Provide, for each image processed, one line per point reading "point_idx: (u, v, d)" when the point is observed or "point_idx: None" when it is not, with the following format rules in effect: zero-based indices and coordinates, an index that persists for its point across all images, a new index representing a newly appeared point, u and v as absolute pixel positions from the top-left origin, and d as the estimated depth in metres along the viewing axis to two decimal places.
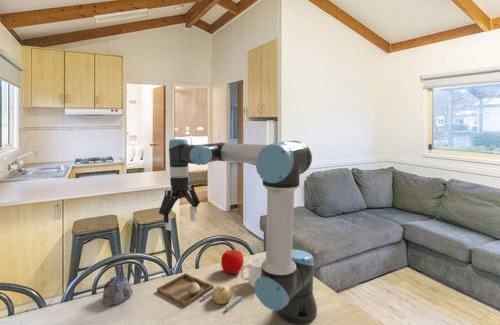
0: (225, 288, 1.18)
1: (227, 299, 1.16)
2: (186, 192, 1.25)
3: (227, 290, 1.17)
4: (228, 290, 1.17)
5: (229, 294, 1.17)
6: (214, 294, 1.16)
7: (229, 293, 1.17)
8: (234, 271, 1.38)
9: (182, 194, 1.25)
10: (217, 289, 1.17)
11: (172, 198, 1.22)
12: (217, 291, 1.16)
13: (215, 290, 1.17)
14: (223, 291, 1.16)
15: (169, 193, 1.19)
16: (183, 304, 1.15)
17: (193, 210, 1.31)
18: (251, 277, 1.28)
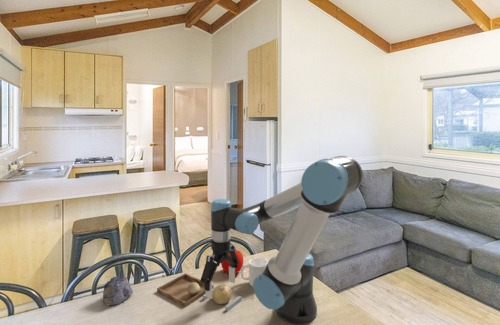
0: (225, 288, 1.18)
1: (227, 299, 1.16)
2: (227, 255, 1.17)
3: (227, 290, 1.17)
4: (228, 290, 1.17)
5: (229, 294, 1.17)
6: (214, 294, 1.16)
7: (229, 293, 1.17)
8: None
9: (223, 258, 1.16)
10: (217, 289, 1.17)
11: (213, 263, 1.14)
12: (217, 291, 1.16)
13: (215, 290, 1.17)
14: (223, 291, 1.16)
15: (211, 260, 1.11)
16: (183, 304, 1.15)
17: (232, 271, 1.23)
18: (251, 277, 1.28)
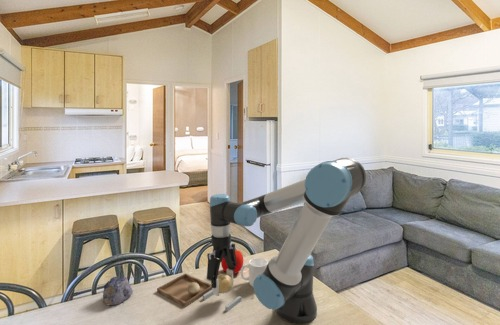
0: (226, 277, 1.17)
1: (228, 288, 1.15)
2: (228, 251, 1.16)
3: (228, 279, 1.16)
4: (229, 279, 1.16)
5: (230, 283, 1.16)
6: None
7: (230, 282, 1.16)
8: (234, 271, 1.38)
9: (224, 253, 1.16)
10: (218, 278, 1.16)
11: (216, 260, 1.14)
12: None
13: None
14: (224, 280, 1.15)
15: (213, 257, 1.10)
16: (183, 304, 1.15)
17: (230, 274, 1.20)
18: (251, 277, 1.28)
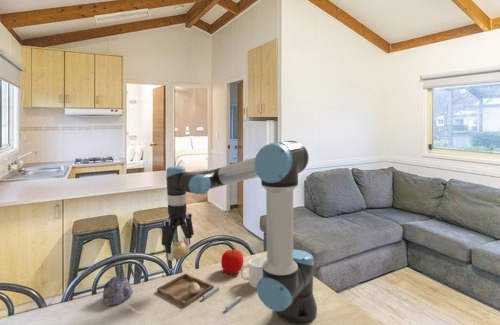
0: (181, 244, 1.24)
1: (182, 253, 1.23)
2: (183, 220, 1.24)
3: (183, 245, 1.24)
4: (184, 246, 1.24)
5: (184, 249, 1.24)
6: None
7: (184, 248, 1.24)
8: (234, 271, 1.38)
9: (180, 222, 1.24)
10: (173, 244, 1.24)
11: (171, 227, 1.22)
12: (173, 246, 1.23)
13: None
14: (178, 246, 1.23)
15: (167, 224, 1.18)
16: (183, 304, 1.15)
17: (187, 242, 1.28)
18: (251, 277, 1.28)
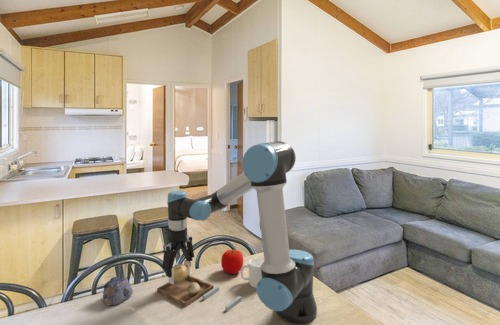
0: (182, 267, 1.26)
1: (183, 277, 1.24)
2: (184, 244, 1.25)
3: (184, 269, 1.26)
4: (184, 269, 1.26)
5: (185, 273, 1.25)
6: None
7: (185, 272, 1.25)
8: (234, 271, 1.38)
9: (180, 245, 1.25)
10: (174, 268, 1.25)
11: (172, 251, 1.23)
12: None
13: None
14: (179, 270, 1.25)
15: (168, 249, 1.20)
16: (183, 304, 1.15)
17: (187, 264, 1.29)
18: (251, 277, 1.28)
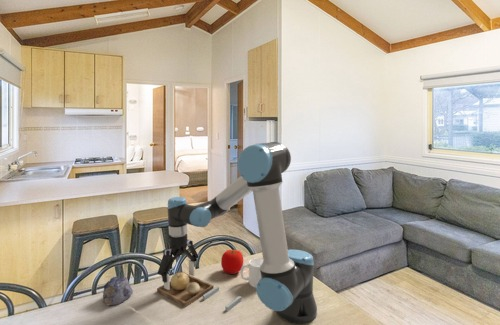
0: (182, 275, 1.27)
1: (184, 285, 1.25)
2: (185, 249, 1.26)
3: (185, 276, 1.26)
4: (185, 277, 1.26)
5: (186, 280, 1.26)
6: (172, 280, 1.25)
7: (186, 280, 1.26)
8: (234, 271, 1.38)
9: (181, 252, 1.25)
10: (175, 276, 1.26)
11: (171, 257, 1.23)
12: (174, 278, 1.25)
13: (173, 277, 1.26)
14: (180, 278, 1.25)
15: (168, 253, 1.20)
16: (183, 304, 1.15)
17: (192, 265, 1.32)
18: (251, 277, 1.28)
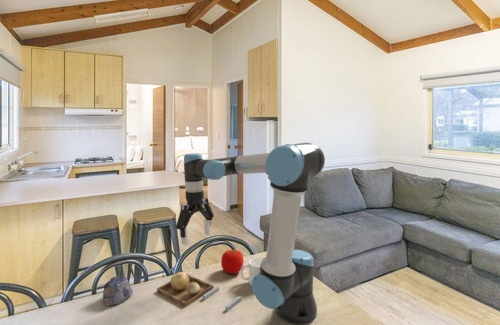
0: (182, 275, 1.27)
1: (184, 285, 1.25)
2: (201, 206, 1.26)
3: (185, 277, 1.26)
4: (185, 277, 1.26)
5: (186, 281, 1.26)
6: (172, 281, 1.25)
7: (186, 280, 1.26)
8: (234, 271, 1.38)
9: (197, 208, 1.26)
10: (175, 276, 1.26)
11: (188, 213, 1.23)
12: (174, 278, 1.25)
13: (173, 277, 1.26)
14: (180, 278, 1.25)
15: (185, 208, 1.20)
16: (183, 304, 1.15)
17: (208, 223, 1.32)
18: (251, 277, 1.28)
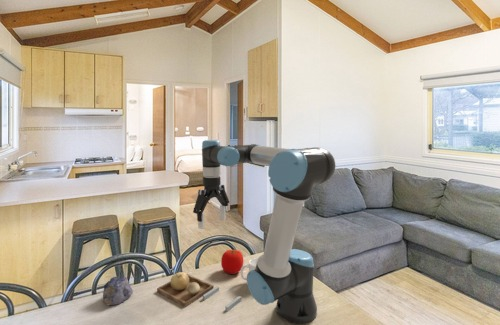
0: (182, 275, 1.27)
1: (184, 285, 1.25)
2: (218, 192, 1.29)
3: (185, 277, 1.26)
4: (185, 277, 1.26)
5: (186, 281, 1.26)
6: (172, 281, 1.25)
7: (186, 280, 1.26)
8: (234, 271, 1.38)
9: (214, 194, 1.28)
10: (175, 276, 1.26)
11: (205, 198, 1.25)
12: (174, 278, 1.25)
13: (173, 277, 1.26)
14: (180, 278, 1.25)
15: (203, 193, 1.22)
16: (183, 304, 1.15)
17: (223, 209, 1.34)
18: None
